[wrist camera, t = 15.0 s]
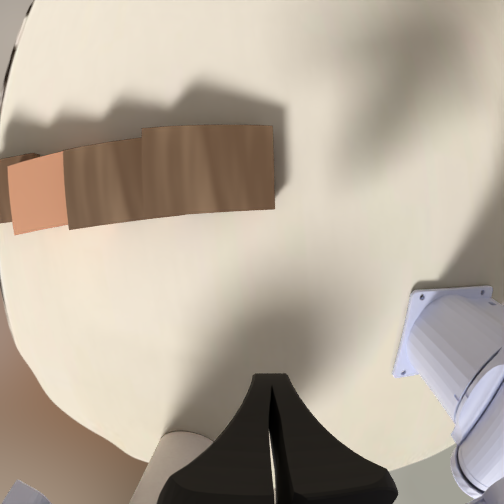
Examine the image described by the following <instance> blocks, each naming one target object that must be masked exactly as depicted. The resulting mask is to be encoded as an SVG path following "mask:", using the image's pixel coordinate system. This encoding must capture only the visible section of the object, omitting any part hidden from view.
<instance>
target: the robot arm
mask: <svg viewBox="0 0 504 504" xmlns="http://www.w3.org/2000/svg"><path fill="white" fill-rule="evenodd" d="M481 291H482V292H481ZM492 292H493V288H492V287H491V286H489V285H487V286H473V287H458V288H441V289H421V290H414V291H413V292H412V293H411V295H410V299H409V305H408V310H407V315H406V319H405V324H404V328H403V333H402V337H401V341H400V345H399V349H398V353H397V357H396V361H395V364H394V368H393V371H392V375H393V376H394V377H395V378H400V377H406V376H412V375H418V374H419V375H420V376H421V377H422V379H423V380H424V381H425V383H426V384H427V386H428V387H429V388H430V390H431V391H432V392H433V394H434V395H435V397H436V398H437V399H438V401H439V402H440V404H441V405H442V406H443V408H444V409H445V411H446V412H447V413H448V415H449V416H450V418H451V419H452V421H453V422H454V424H455V428H454V430H453V431H452V433H451V436H452V438H453V439H454V441H455V443H456V444H457V446H456V447H455V449H454V450H453V453H452V455H451V470H452V473H453V476H454V478H455V480H456V482H457V484H458V486H459V487H460V488H461V489H462V491H464V492H465V493H466V494H467V495H468V496H470V497H472V498H474V500H473V501H470V502H469V503H467V504H504V305H502V304H501V303H499V302H497V301H496V300H494V299H492V298H491V297H492ZM422 294H423V296H422V298H420V296H421V295H422ZM402 371H404V372H402ZM401 372H402V373H401ZM269 433H270V440H271V448H272V455H273V462H274V469H275V484H276V504H393V502H394V500H395V499H396V498H397V496H398V490H397V488H396V485H395V482H394V481H393V479H392V477H391V475H390V474H389V472H388V470H387V469H386V468H383V467H381V466H379V465H377V464H375V463H373V462H371V461H369V460H367V459H365V458H363V457H361V456H360V455H358V454H356V453H355V452H353V451H352V450H351V449H349V448H348V447H346V446H345V445H344V444H342V443H341V442H340V441H338V440H337V439H336V438H335V437H334V436H333V435H332V434H330V433H329V432H328V431H327V430H326V429H325V428H324V427H323V426H322V425H321V424H320V423H319V422H318V420H317V419H316V418H315V417H314V416H313V415H312V413H311V412H310V411H309V410H308V408H307V407H306V405H305V404H304V403H303V401H302V400H301V398H300V397H299V395H298V394H297V392H296V390H295V389H294V387H293V385H292V383H291V381H290V379H289V377H288V375H287V374H254V375H253V378H252V382H251V385H250V388H249V390H248V393H247V395H246V397H245V399H244V401H243V403H242V405H241V406H240V408H239V410H238V411H237V413H236V414H235V416H234V418H233V419H232V420H231V422H230V423H229V425H228V426H227V427H226V428H225V430H224V431H223V432H222V433H221V435H220V436H219V437H218V438H217V439H216V440H215V441H214V442H213V443H212V444H211V445H210V446H209V447H208V448H207V449H206V450H205V451H204V452H202V453H201V454H200V455H199V456H198V457H196V458H195V459H194V460H193V461H191V462H190V463H189V464H187V465H186V466H184V467H183V468H181V469H180V470H178V471H177V472H175V473H174V474H172V475H170V476H169V478H168V480H167V481H166V483H165V484H164V486H163V488H162V490H161V492H160V494H159V497H158V500H157V504H274V490H273V481H272V471H271V458H270V445H269ZM2 504H51V502H50V501H49V500H48V499H47V498H46V496H44V495H43V494H42V493H41V492H39V491H38V490H36V489H34V488H32V487H31V486H29V485H27V484H25V483H23V482H22V481H20V480H16V482H15V483H14V485H13V486H12V488H11V489H10V491H9V492H8V494H7V496H6V497H5V499H4V500H3V502H2Z"/></svg>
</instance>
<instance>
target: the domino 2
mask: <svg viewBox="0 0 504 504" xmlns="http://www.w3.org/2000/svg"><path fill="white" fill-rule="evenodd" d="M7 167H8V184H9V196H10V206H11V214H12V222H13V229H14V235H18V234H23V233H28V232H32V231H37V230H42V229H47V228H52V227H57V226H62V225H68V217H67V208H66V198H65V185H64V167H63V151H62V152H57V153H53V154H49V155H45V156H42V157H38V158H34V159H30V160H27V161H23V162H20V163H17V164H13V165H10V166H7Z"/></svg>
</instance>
